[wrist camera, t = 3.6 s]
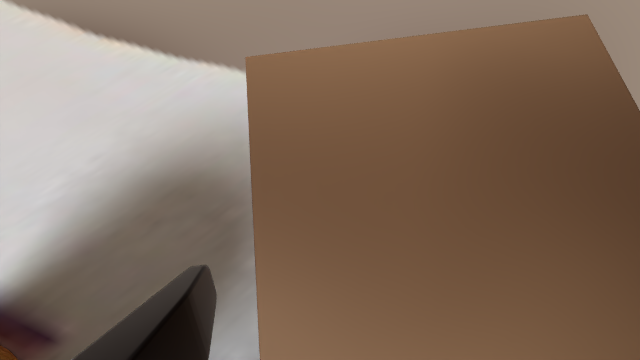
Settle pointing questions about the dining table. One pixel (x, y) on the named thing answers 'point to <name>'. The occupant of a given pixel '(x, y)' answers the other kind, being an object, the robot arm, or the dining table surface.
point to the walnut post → (447, 198)
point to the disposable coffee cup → (6, 354)
